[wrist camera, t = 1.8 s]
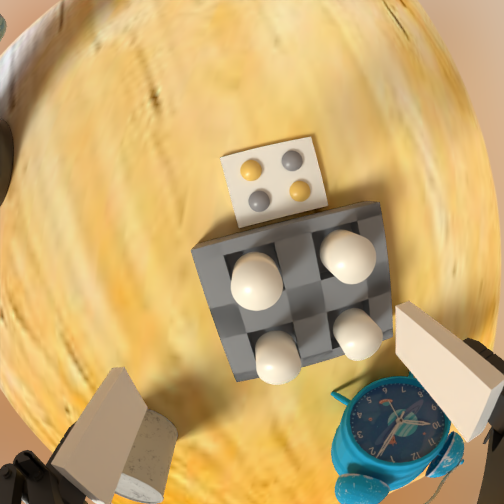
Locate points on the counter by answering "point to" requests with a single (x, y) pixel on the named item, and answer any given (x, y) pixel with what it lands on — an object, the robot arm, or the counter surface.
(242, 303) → the button
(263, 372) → the button
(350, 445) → the alarm clock
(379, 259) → the button board
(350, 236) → the button
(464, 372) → the robot arm
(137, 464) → the speckled white tin can
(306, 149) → the card
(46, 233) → the counter surface
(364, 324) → the button
